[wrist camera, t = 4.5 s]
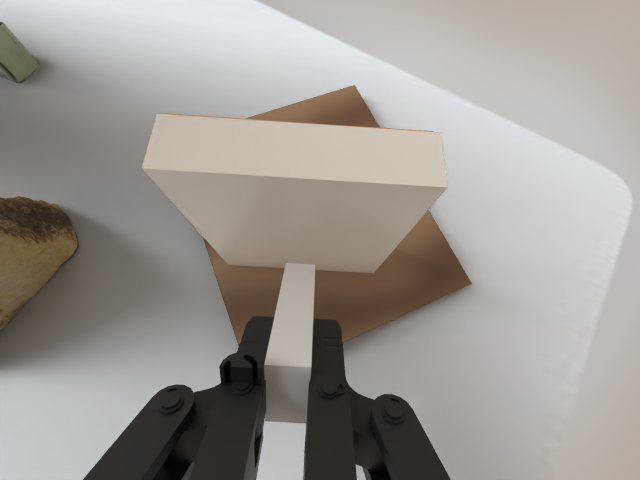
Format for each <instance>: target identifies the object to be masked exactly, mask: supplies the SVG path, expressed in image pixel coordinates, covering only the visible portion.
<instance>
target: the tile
mask: <svg viewBox="0 0 640 480" xmlns="http://www.w3.org/2000/svg"><path fill="white" fill-rule="evenodd" d="M142 169H143V171H144V172H145V173H146V174H147V175H148V176H149V177H150V178H151V179H152V181H153V182H154V183H155V184H156V185H157V186H158V187H159V188H160V189H161V191H162V192H163V193H164V194H165V195H166V196H167V197H168V198H169V199H170V201H171V202H172V203H173V204H174V205H175V206H176V207H177V208H178V209H179V211H180V212H181V213H182V214H183V215H184V216H185V217H186V218H187V219H188V221H189V222H190V223H191V224H192V225H193V226H194V227H195V228H196V229H197V231H198V232H199V233H200V234H201V235H202V236H203V237H204V238H205V239H206V240H207V242H208V243H209V244H210V245H211V246H212V247H213V248H214V249H215V250H216V252H217V253H218V254H219V255H220V256H221V257H222V258H223V259H224V260H225V262H226V263H227V264H228V265H237V266H255V267H273V268H285V265H286V263H296V264H313V265H315V270H326V271H344V272H362V273H374V272H375V271H376V270H377V269H378V268H379V266H380V265H381V264H382V263H383V262H384V261H385V259H386V258H387V257H388V256H389V255H390V254H391V252H392V251H393V250H394V249H395V248H396V247H397V246H398V244H399V243H400V242H401V241H402V240H403V239H404V237H405V236H406V235H407V234H408V233H409V232H410V230H411V229H412V228H413V227H414V226H415V225H416V223H417V222H418V221H419V220H420V219H421V218H422V216H423V215H424V214H425V213H426V212H427V211H428V209H429V208H430V207H431V206H432V205H433V204H434V203H435V201H436V200H437V199H438V198H439V197H440V196H441V194H442V193H443V192H444V191H445V190H446V189H447V179H446V169H445V159H444V150H443V140H442V133H439V132H434V131H420V130H405V129H390V128H375V127H360V126H345V125H330V124H315V123H300V122H285V121H270V120H255V119H240V118H225V117H209V116H194V115H179V114H157V115H156V118H155V122H154V126H153V129H152V133H151V136H150V140H149V144H148V147H147V151H146V154H145V158H144V162H143V165H142Z"/></svg>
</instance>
